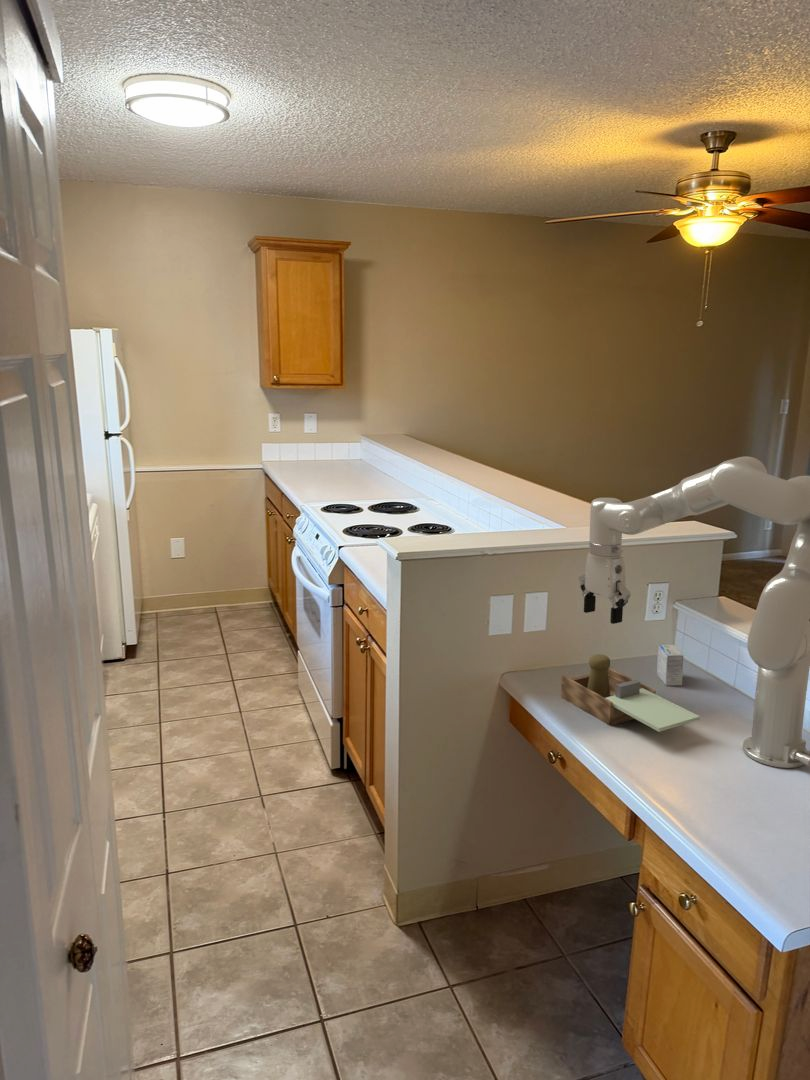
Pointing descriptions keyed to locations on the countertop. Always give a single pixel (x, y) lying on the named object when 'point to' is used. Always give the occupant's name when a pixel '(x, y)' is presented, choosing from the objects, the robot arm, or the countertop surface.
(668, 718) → the lid
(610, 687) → the wooden drawer box
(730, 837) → the countertop surface
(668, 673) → the medicine box
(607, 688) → the cork
